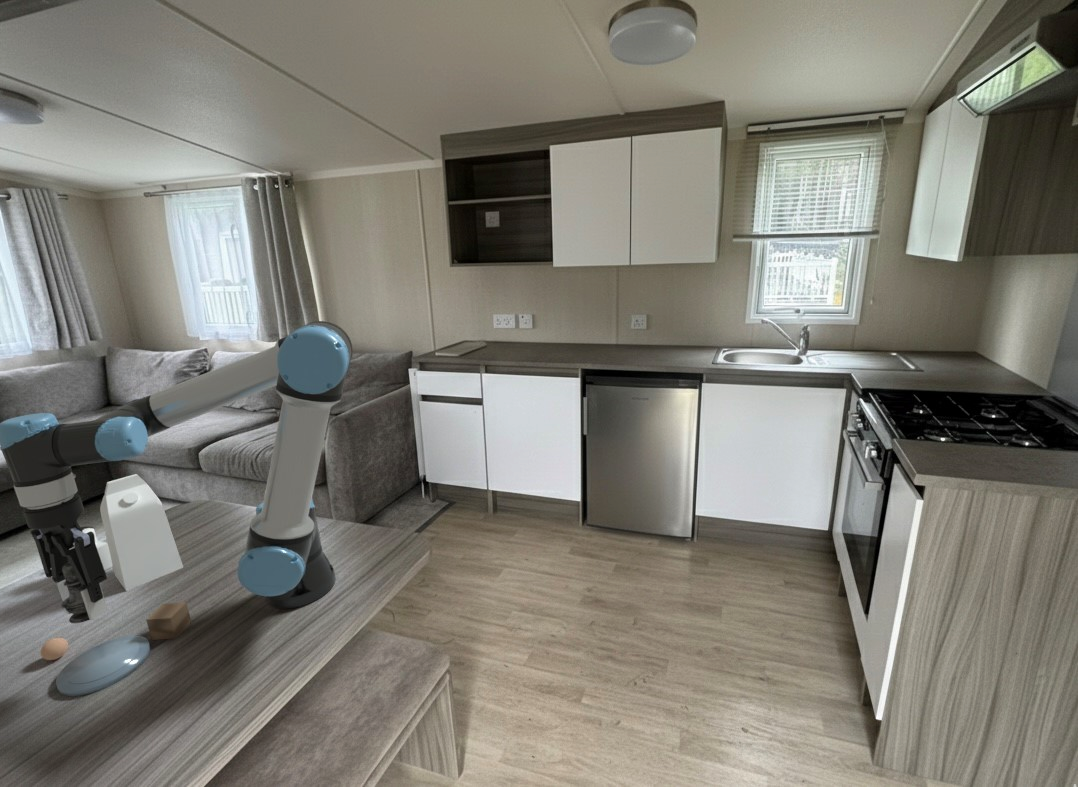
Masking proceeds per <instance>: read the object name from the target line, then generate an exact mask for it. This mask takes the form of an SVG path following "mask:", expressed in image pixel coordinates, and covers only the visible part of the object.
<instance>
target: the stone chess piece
mask: <svg viewBox="0 0 1078 787" xmlns="http://www.w3.org/2000/svg"><path fill="white" fill-rule="evenodd" d="M68 561H69V560H68ZM62 571H63V574H64V577H65V580H66V581H65V582H64V585H65V586H67V588H68V591H69V597H68V598H67V599H66V600H64V601H62V603H61V608H62V609H63V608H64V610H65V609H66V610H65V612H66V611H68V612H69V613H70V614H71V616H70V617H69V619H68V622H69V623H71V624H80V623H85V622H87V621H91V620H90V619H89V616H88V613H87V610H86V607H85V604H84V601H83V598H82V595H81V592H80V591H79V590H78V589H79V588H81V587H82V585H81V583H80V581H79V579H78V577H77V575H76V573H75V571H74V570H73V568H72V566H71V564H70V562H68V563H66V564H65V565H64V566H63V567H62ZM102 592H103V593H104V589H102Z"/></svg>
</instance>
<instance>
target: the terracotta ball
mask: <svg viewBox="0 0 1078 787" xmlns="http://www.w3.org/2000/svg"><path fill="white" fill-rule="evenodd" d="M68 648H69V643H68V641H67V640H66V639H65V638H64V637H63V638H62V637H56V638H55V637H54V638H51V639H49V640H48V641H47V642H45V643H44V644H43V645H42V647H41V649H40V656H41V657H42V658H43V659H44V660H47V661H53V660H58V659H60V658H61V657H63V656H64V655H65V654H66V652H67V651H68Z"/></svg>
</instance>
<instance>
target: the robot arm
mask: <svg viewBox="0 0 1078 787" xmlns="http://www.w3.org/2000/svg"><path fill="white" fill-rule="evenodd" d="M352 357H353V343H352V340H351V337H350V336H349V335H348V333H347V332H346V331H345V330H344V329H343V328H342V327H340V326H339V325H337V324H335V323H332V322H330V321H326V320H324V321H323V320H320V321H319V320H318V321H312V322H310V323H306V324H305V325H303V326H301V327H299V328H297V329H295V330H293V331H292V332H290V333H289V334H288V335H286V336H284V337H282V338H279V339H277V340H276V342H275V345H274V346H272V347H270V348H267V349H265V350H262V351H259V352H257V353H254V354H251V355H249V356H246V357H244V358H241V359H239V360H236V361H233V362H231V363H228V364H226V365H224V366H220V367H218V368H216V369H213V370H211V371H207V372H206V373H203V374H200V375H198V376H196V377H192V378H189V379H187V380H185V381H183V382H179V383H177V384H174V385H171V386H169V387H166V388H164V389H162V390H159V391H156V392H154V393H152V394H150V395H146V396H144V397H140V398H135V399H132V400H130V401H128V402H126V403H124V404H123V405H122V406H119V407H118V408H116V409H113V410H111V411H109V412H107V413H105V414H104V415H102V416H100V417H98V418H96V419H93V420H88V421H79V422H73V423H59V421H58V418H57V417H56V415H54V414H53V413H50V412H46V413H44V412H40V413H31V414H25V415H22V416H21V415H20V416H17V417H11V418H9V419H4V420H3V421H1V422H0V451H1V452H2V455H3V457H4V460H5V464H6V465H7V468H8V470H9V473H10V475H11V478H12V483H13V489H14V492H15V495H16V497H17V499H18V503H19V507H21V508H23V510H22V514H23V516H24V519H25V522H26V524H27V527H28V528H29V529H30V535H31V536H32V538H33V540H34V542H35V545H36V549H37V551H38V555H39V558H40V562H41V565H42V568H43V571H44V574H45V577H46V578H48V579H49V578H51V577H52V581H53V582H54V583H56V585H57V589H58V591H59V594H60V597H61V600H62V602H63V601H64V600H66V599H67V598H68V597H69V591H68V588H67V586H65V585H64V582H65V581H66V580H65V577H64V574H63V571H62V567H63V566H64V565H65V564H66V563H68V562H70V564H71V566H72V568H73V570H74V571H75V573H76V575H77V577H78V579H79V581H80V583H81V585H82V587H81V588H79V589H78V590H79V591H80V592H81V595H82V598H83V601H84V604H85V607H86V610H87V613H88V616H89V619H90V620H89V621H93V620H95V619H96V618H98V617H100V616H101V615H103V614H105V613H107V612H108V611H109V609H108V605H107V602H106V599H105V596H104V591H103V592H102V590H103V588H102V586H101V583H103V582H104V581H106V580H107V579H108V577H107V574H106V570H104V568H103V565H102V562H101V559H100V556H99V553H98V550H97V547H96V545H95V537H94V533H93V532H88V533H86V534H85V533H83V532H82V530H81V527H82V526H80V524H79V522H78V520H79V518H80V517H81V516H82V515H83V514H84V513H85V508H84V504H83V500H82V499H81V495H80V494H78V493H77V492H78V486H77V483H76V481H75V480H76V479H75V478H76V474H75V473H73V469H72V467H73V466H81V465H88V464H96V463H105V462H106V463H108V462H119V461H123V460H128V459H131V458H132V459H133V458H136V457H139V456H141V455H143V453H144V452H145V451H146V448H147V446H148V444H149V443H148V441H149V437H152V436H154V435H155V434H158V433H161V432H164V431H166V430H168V429H170V428H173V427H175V426H177V425H180V424H182V423H185V422H187V421H189V420H190V421H191V420H193V419H196V418H197V417H200V416H202V415H205V414H207V413H210V412H213V411H215V410H217V409H221V408H223V407H226V406H227V405H230V404H232V403H235V402H238V401H240V400H243V399H245V398H248V397H251V396H254V395H255V394H257V393H261V392H263V391H266V390H268V389H270V388H273V387H276V388H275V391H276V393H277V394H278V395H279V396H280V398H281V399H282V402H281V408H280V413H279V416H278V417H279V418H278V424H277V429H276V434H275V438H274V439H275V440H274V444H273V449H272V454H271V460H270V465H269V471H268V476H267V481H266V486H265V491H264V497H263V501H262V502H261V503H260V504H258V505H257V506H256V508H255V516H253V517H252V518H251V521H250V524H249V529H248V534H247V539H246V545H245V548H244V551H243V552H244V553H243V555H242V556H241V558H240V559H239V560H238V564H237V565H238V566H237V573H236V574H237V579H238V581H239V583H240V584H241V585H242V587H243V588H245V589H247V591H249V593H252V594H254V595H256V596H257V595H258V596H262V597H265V601H266V603H267V604H268V606H270V607H273V608H276V609H280V610H281V609H283V610H284V609H285V610H286V609H295V608H299V607H303V606H306V605H309V604H311V603H313V602H315V601H316V600H319V599H320V598H322V597H324V596H325V595H326V594H327V593H329V592H330V590H332V588H333V587H334V585H335V583H336V573H335V572H336V571H335V569H334V567H333V564H331V563H330V560H329V558H328V557H327V556H326V554H325V553H324V551H323V546H322V541H321V536H320V529H319V526H318V520H317V514H316V510H315V508H316V505H315V504H314V503H315V502H314V500H313V495H314V491H315V485H316V482H317V481H316V480H317V476H318V471H319V467H320V460H321V458H322V451H323V447H324V443H325V436H326V433H327V428H328V424H329V422H328V421H329V417H330V412H331V408H332V407H333V406H335V405H337V404H338V403H340V402H341V400H342V395H343V393H344V387H345V381H346V377H347V373H348V372H347V371H348V368H349V364H350V363H351V361H352ZM72 547H75V548H73V549H71V550H69V549H70V548H72ZM68 560H69V561H68ZM64 610H65V613H66V614H67V615H70V614H71V613H69V612H68V611H66V609H65V608H64Z"/></svg>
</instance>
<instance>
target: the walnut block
mask: <svg viewBox="0 0 1078 787" xmlns="http://www.w3.org/2000/svg"><path fill="white" fill-rule="evenodd" d="M145 621H146V624H147V628H148V631H149V634H150V637H151V640H152V641H154V640H155V641H157V640H167V639H171V640H172V639H177V638H178V637H180V635H181V633H183V632H184V630H185V629H187V627H188V626H190V624H191V623H192V620H191V615H190V611H189V609H188V604H187V602H172V603H170V602H169V603H162V604H161V605H160V606H159V607H158V608H157V609H155V610H154V612H153V613H152V614H151V615H149V616H148V617H147V618H146V619H145Z"/></svg>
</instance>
